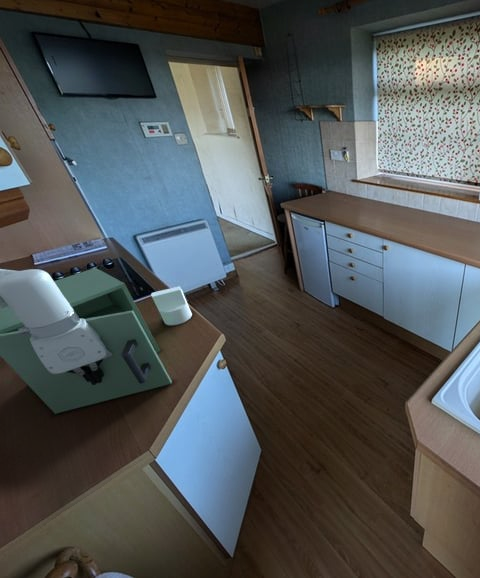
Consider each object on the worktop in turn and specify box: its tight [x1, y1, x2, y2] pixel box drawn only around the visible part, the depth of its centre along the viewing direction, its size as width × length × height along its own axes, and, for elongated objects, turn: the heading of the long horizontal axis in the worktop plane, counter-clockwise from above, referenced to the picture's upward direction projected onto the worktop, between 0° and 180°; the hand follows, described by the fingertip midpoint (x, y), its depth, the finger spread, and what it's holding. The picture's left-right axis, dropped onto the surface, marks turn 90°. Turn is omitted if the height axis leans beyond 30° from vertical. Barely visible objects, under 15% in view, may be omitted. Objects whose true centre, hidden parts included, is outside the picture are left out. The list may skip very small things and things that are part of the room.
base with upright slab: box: [150, 285, 193, 326], centre depth 108 cm, size 9×9×12 cm
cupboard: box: [0, 267, 161, 354], centre depth 83 cm, size 18×26×26 cm
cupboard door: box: [0, 310, 173, 415], centre depth 71 cm, size 7×26×26 cm, turn 113°
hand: (97, 380), depth 74 cm, fingers closed
